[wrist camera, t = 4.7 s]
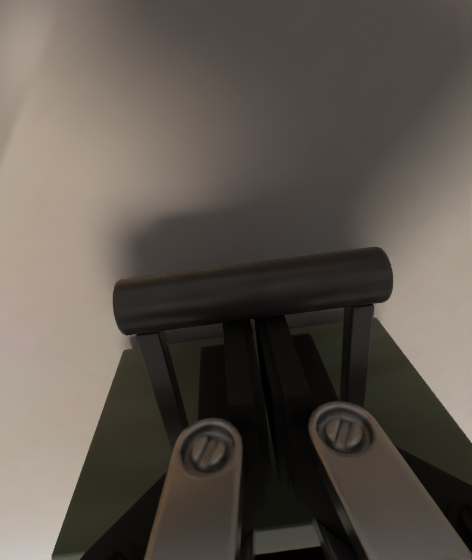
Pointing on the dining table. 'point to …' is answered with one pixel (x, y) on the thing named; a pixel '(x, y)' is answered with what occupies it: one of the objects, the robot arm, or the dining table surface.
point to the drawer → (186, 371)
